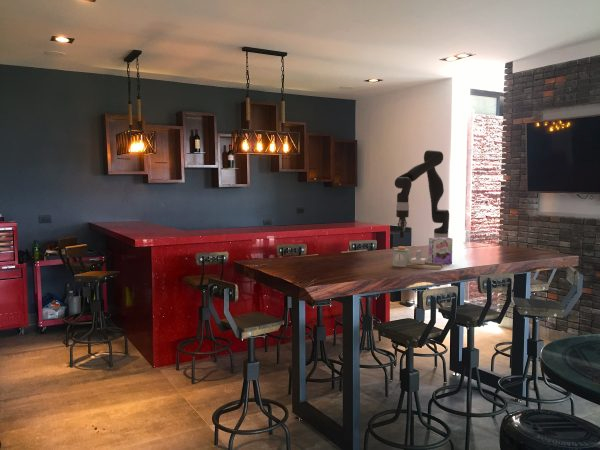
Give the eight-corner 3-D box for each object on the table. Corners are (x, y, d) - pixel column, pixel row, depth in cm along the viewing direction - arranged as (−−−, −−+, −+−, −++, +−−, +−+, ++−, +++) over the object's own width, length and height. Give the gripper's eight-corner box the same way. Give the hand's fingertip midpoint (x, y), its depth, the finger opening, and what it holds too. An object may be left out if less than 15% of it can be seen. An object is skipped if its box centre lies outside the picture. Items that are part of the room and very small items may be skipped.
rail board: (409, 264, 317) (410, 259, 317) (443, 267, 308) (443, 262, 307) (405, 267, 308) (405, 262, 308) (439, 269, 299) (440, 264, 298)
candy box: (432, 264, 317) (432, 238, 316) (427, 263, 323) (428, 237, 321) (452, 263, 320) (452, 238, 318) (447, 262, 325) (448, 237, 324)
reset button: (399, 252, 316) (399, 246, 316) (406, 253, 314) (406, 246, 314) (397, 253, 312) (397, 247, 312) (404, 254, 311) (404, 247, 310)
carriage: (413, 261, 315) (413, 249, 314) (426, 262, 311) (426, 250, 310) (410, 263, 307) (410, 251, 307) (423, 264, 304) (423, 251, 303)
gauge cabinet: (397, 263, 320) (397, 248, 320) (409, 264, 317) (410, 248, 316) (392, 266, 311) (393, 250, 310) (405, 267, 307) (405, 250, 307)
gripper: (405, 210, 304) (405, 238, 305) (411, 209, 315) (410, 236, 317) (393, 209, 307) (393, 238, 308) (399, 209, 319) (399, 236, 320)
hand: (402, 237), depth 313 cm, fingers closed
